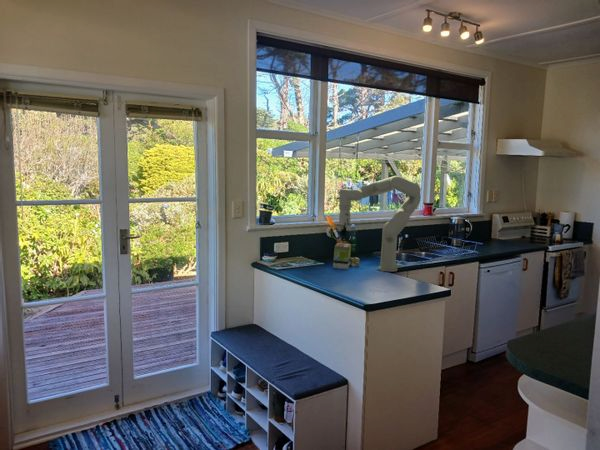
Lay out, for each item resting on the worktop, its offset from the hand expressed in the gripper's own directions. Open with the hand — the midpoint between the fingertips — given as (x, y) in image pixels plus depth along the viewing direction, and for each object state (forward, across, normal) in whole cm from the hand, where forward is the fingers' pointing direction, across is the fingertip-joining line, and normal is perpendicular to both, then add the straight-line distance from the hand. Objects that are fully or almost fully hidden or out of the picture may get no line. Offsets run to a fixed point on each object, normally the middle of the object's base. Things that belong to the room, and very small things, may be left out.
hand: (343, 235), depth 298 cm
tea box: (+21, 0, 0) cm, 21 cm away
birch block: (+21, +3, -10) cm, 23 cm away
